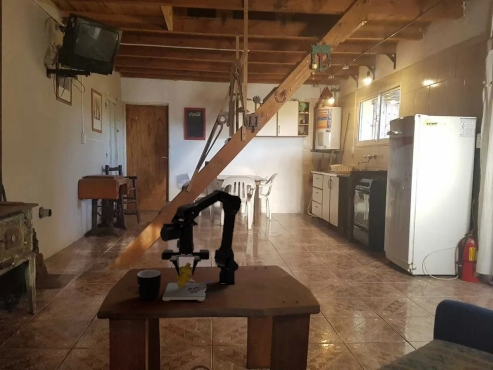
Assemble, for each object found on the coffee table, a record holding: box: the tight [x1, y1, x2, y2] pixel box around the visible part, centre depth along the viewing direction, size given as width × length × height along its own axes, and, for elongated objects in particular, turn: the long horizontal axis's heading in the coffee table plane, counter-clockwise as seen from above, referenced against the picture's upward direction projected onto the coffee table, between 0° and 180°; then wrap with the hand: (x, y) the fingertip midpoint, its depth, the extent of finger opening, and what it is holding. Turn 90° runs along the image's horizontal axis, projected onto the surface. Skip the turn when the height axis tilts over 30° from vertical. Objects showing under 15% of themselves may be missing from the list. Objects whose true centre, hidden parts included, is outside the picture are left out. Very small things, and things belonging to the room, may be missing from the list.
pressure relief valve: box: [175, 262, 196, 288], centre depth 149 cm, size 6×12×10 cm, turn 161°
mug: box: [136, 269, 162, 302], centre depth 140 cm, size 12×9×10 cm
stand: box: [162, 282, 207, 302], centre depth 147 cm, size 16×15×2 cm
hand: (186, 275), depth 146 cm, fingers closed on pressure relief valve, 5 cm apart
